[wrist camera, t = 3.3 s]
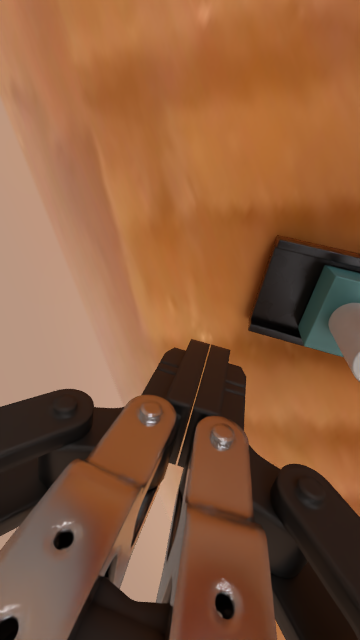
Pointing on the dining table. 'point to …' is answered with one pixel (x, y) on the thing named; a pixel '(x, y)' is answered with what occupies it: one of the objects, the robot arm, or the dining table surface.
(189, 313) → the dining table surface
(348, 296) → the handle
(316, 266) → the rail
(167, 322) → the dining table surface
